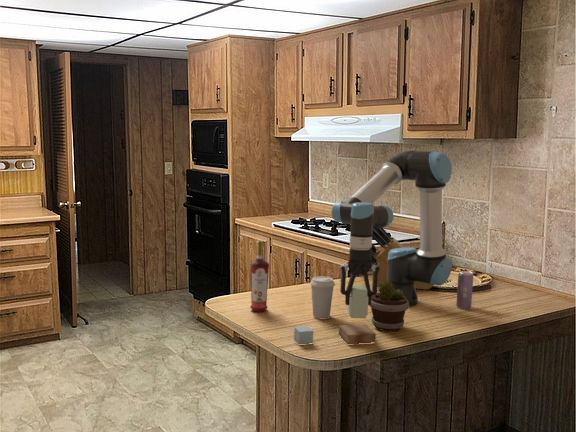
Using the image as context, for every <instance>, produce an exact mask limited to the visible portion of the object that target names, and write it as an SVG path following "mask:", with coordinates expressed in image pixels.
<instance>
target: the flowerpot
mask: <svg viewBox="0 0 576 432" xmlns="http://www.w3.org/2000/svg"><path fill="white" fill-rule="evenodd" d="M384 279H385V278H384ZM387 279H388V278H386V279H385V280H383V282H381V281H380V282H381V284H380V285H379V286H380V287H378V289H377V294H376V295H372V297H371V305H368V307H370V309H371V314H372V317H371V323H372V325H373V326H375V327H376V328H375V327H374V328H375V329H377V328H378V329H377V330H379V329H381V330H380V331H383V330H384V332H398V331H400V330H401V329H402V327H404V325H405V319H404V317H405V315H406V311H407V310H408V309H409V302H408V300H407V299H406V297H405V296H404V295H403V294H402V292H400V291H398V290H397V291H393V292H392V290H395V289H393V288H394V286H393V287H392V285H393V284H391V282H389V280H388V281H387ZM397 330H398V331H397Z"/></svg>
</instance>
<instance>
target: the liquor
mask: <svg viewBox="0 0 576 432" xmlns="http://www.w3.org/2000/svg"><path fill="white" fill-rule="evenodd" d="M264 242H265V241H264V240H259V239H258V240H256V258H255V260H253V261H252V262H251V263H250V266H249V267H250V286H251V287H250V289H251V290H250V291H251V292H250V293H251V294H250V295H251V296H250V297H251V301H250V302H251V305H250V309H251V310H252V311H253V310H254V311H253V312H255V311H263V312H264V311H266V310H267V309H268V305H267V300H268V299H267V298H268V285H269V273H270V272H269V270H270V269H269V268H270V264H269V262H267V261H266V260H264Z"/></svg>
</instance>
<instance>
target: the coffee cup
mask: <svg viewBox="0 0 576 432" xmlns="http://www.w3.org/2000/svg"><path fill="white" fill-rule="evenodd" d="M309 285H310V286H311V305H312V316H314V317H315V318H314V317H313V318H314V319H317V318H327V319H329V318H330V317H331V311H332V310H331V309H332V301H333V294H334V287H335V286H336V283H335V281H334V279H333V278H332V277H330V276H325V275H324V276H323V275H322V276H313V277H312V279H311V281H310V282H309ZM328 317H329V318H328Z"/></svg>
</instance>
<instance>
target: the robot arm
mask: <svg viewBox="0 0 576 432" xmlns="http://www.w3.org/2000/svg"><path fill="white" fill-rule="evenodd" d="M452 173H453V167H452V162H451V160H450V157H449V156H448V155H447V154H446V153H444V152H439V151H425V150H406V151H402V152H400V153H398V154H396V155H394V156H392V157H390V158H389V159H388V160H386V161H385V162H384V163H383V164H382V165H381V166H380V170H379V171H378V172H377V173H375V174H374V176H372V177H371V178H370V179H369V180H368V181H367V182H366V183H364V184H363V185H362V186H361V187H360V188H359V189H358V190H356V192H355V193H353V194H352V195H351V196H350V197H349V198H347V200H346V201H337V202H335V203H334V204H333V205H332V207H331V213H330V214H331V218H332V219H333V220H334V221H335V222H339V223H342V224H349V225H350V233H349V234H350V236H349V247H350V248H349V254H348V261H347V262H346V264H341V265H339V268H340V271H341V273H340V290H339V292H340V293H341V295H344V296H345V297H344V298H345V300H344V304H345V305H346V306H347V314H348V316H350V315H351V308H352V296H351V295H350V293H351V290H352V287H353V286H354V283H355V280H356V278H357V276H362V278H363V281H364V286H365V287H366V289H367V310H366V316H368V315H369V314H368V313H369V312H368V311H369V305H371V297H372V295H376V294H377V293H378V286H377V280H378V272H379V269H380V268H379V267H378V266H377V265H376V266H375V265H374V264H373V263H372V262H371V254H372V250H371V249H370V248H371V247H372V244H373V237H372V232H373V229H375V228H385V227H388V226H390V225H391V224H392V222H393V220H394V212H393V210H392V208H390V207H389V206H388V205H374V203H375V202H377V201H378V200H379V198H381V196H384V194H385V193H386V192H387V191H388V190H389V189H390V188H391V187H392V186H394V185H397V184H399V183H400V182H402V181H406V180H407V181H409V180H410V181H415V182H414V183H415V188H416V189H418V190H419V193H418V194H419V248H418V249H417V248H415V247H403V248H395V249H392V250H390V251H389V253H388V259H387V260H388V263H387V278H388V279H387V281H388V280H389V282H391V284H393V285H392V287H393V286H394V288H393V289H395V290H392V292H393V291H397V290H398V291H400V292H402V294H403V295H404V296H405V297H406V299H407V300H408V302H409V307H414V306H417V305H418V303H419V302H418V301H419V297H418V296H419V295H418V293H417V288H415V281H417V282H422V283H426V284H431V285H433V286H440V287H441V286H443V285H444V284H445V283H447V281H448V279H449V277H450V275H451V272H452V269H453V268H452V267H453V263H452V260H451V259H450V258H449V257H447V251H446V250H445V249H444V248H443V203H442V202H443V200H442V198H443V190H444V188H446V186H447V183H449V182H450V180H451V179H452ZM348 269H349V270H350V271H351V273H350V275H349V276H350V277H349V280H348V282H347V283H346V280H347V273H346V272H347V271H348ZM370 270H372V280H371V281H372V283H371V285H372V286H371V285H370V280H369V273H368V272H369V271H370ZM346 284H347V286H346ZM371 287H372V288H371Z"/></svg>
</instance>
